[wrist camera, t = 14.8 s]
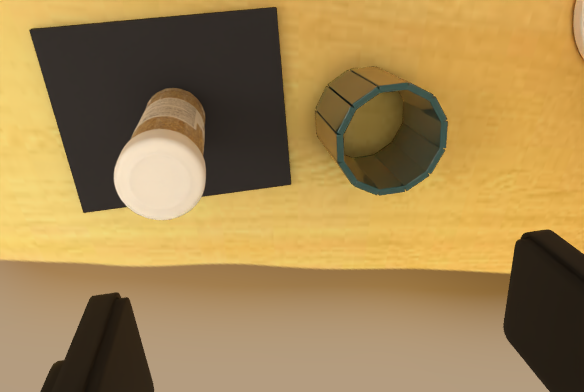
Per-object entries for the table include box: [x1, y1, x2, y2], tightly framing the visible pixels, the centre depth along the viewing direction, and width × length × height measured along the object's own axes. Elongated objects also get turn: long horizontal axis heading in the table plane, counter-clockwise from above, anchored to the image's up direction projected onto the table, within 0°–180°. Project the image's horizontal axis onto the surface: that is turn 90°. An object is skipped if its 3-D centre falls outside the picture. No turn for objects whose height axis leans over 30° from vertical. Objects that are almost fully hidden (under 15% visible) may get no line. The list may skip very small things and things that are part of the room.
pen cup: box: [315, 66, 448, 195], centre depth 35 cm, size 8×8×7 cm
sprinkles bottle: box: [114, 88, 206, 220], centre depth 29 cm, size 5×5×14 cm
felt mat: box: [30, 7, 291, 213], centre depth 36 cm, size 17×14×1 cm
